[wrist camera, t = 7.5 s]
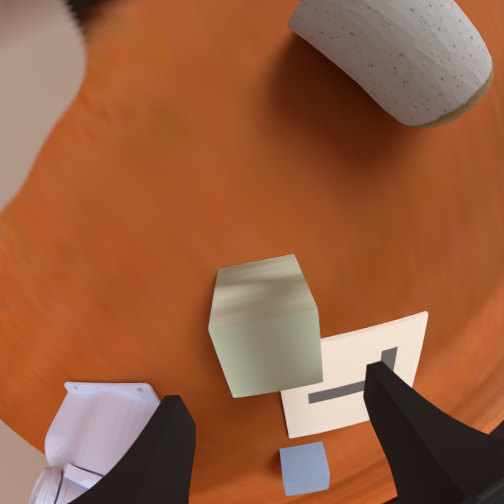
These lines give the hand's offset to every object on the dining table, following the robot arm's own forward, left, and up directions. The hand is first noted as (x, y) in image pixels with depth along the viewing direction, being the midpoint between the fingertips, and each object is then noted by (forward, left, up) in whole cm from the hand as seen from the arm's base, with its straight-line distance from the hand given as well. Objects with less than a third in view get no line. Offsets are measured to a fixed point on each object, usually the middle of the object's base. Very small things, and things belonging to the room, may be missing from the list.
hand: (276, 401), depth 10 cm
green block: (0, 0, -8) cm, 8 cm away
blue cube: (+1, -21, -8) cm, 23 cm away
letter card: (+6, -10, -8) cm, 15 cm away
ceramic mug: (+10, +15, -9) cm, 20 cm away
